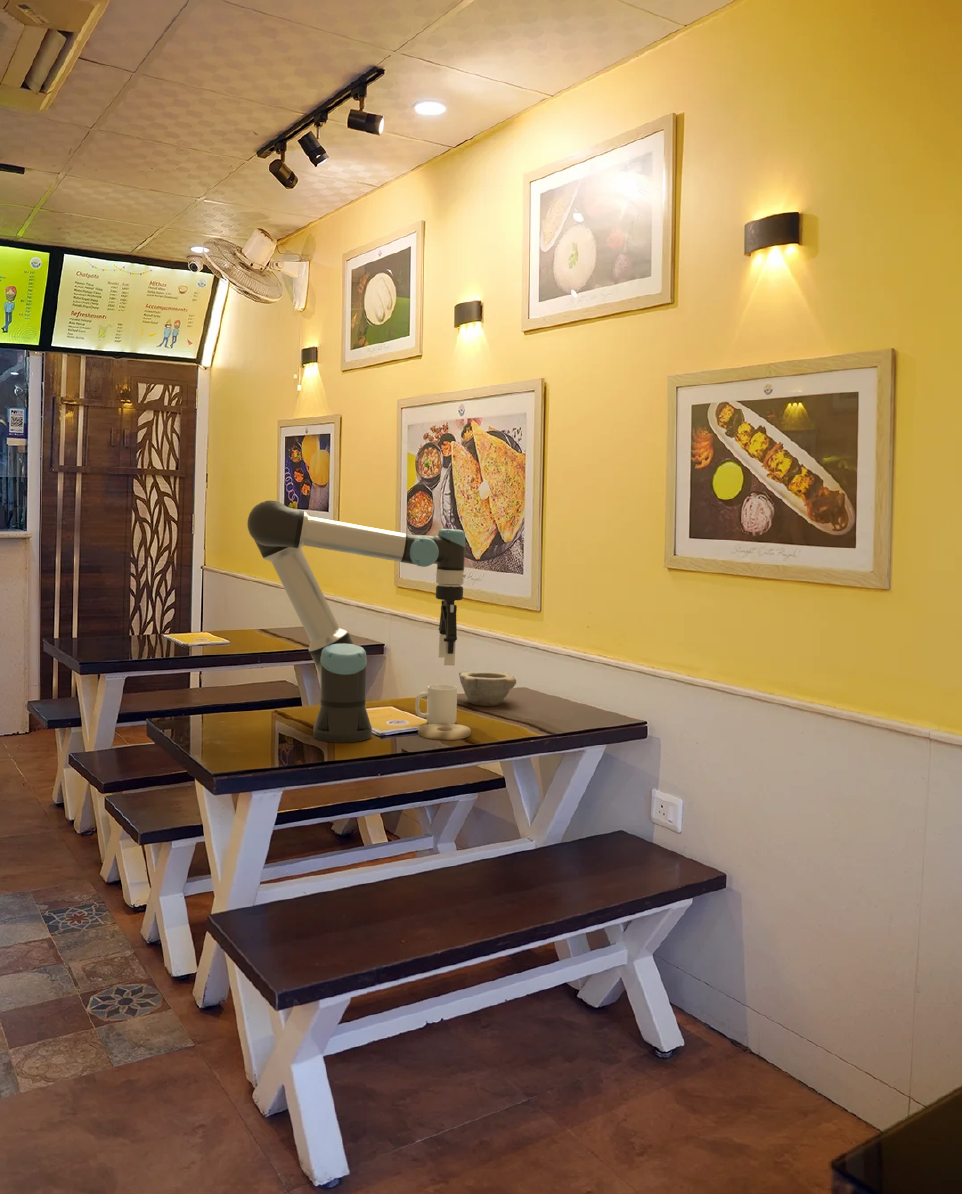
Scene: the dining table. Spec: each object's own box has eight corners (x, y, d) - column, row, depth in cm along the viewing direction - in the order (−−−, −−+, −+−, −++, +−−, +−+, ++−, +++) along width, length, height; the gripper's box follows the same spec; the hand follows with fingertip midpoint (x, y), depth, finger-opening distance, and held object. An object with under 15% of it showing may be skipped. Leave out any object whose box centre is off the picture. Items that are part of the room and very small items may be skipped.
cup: (460, 724, 278) (461, 688, 277) (419, 727, 274) (420, 690, 273) (450, 718, 286) (450, 683, 285) (410, 721, 281) (410, 685, 280)
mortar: (509, 698, 318) (510, 669, 318) (516, 709, 302) (517, 678, 301) (456, 697, 317) (457, 669, 316) (461, 708, 300) (462, 678, 299)
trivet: (420, 740, 259) (421, 735, 259) (415, 727, 273) (415, 723, 273) (474, 739, 261) (474, 734, 261) (466, 727, 275) (466, 722, 275)
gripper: (469, 589, 265) (465, 669, 266) (457, 581, 289) (453, 654, 291) (441, 588, 263) (437, 668, 265) (431, 581, 288) (428, 654, 290)
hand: (446, 661), depth 278 cm, fingers open, 13 cm apart
